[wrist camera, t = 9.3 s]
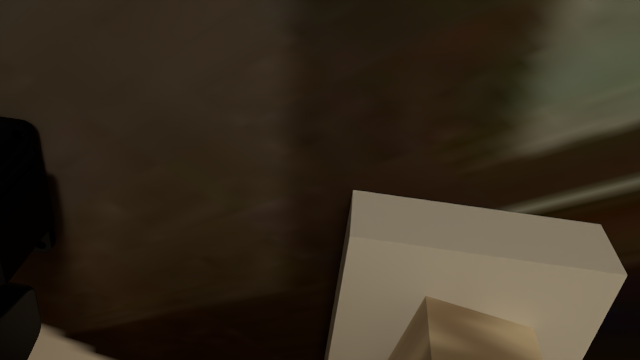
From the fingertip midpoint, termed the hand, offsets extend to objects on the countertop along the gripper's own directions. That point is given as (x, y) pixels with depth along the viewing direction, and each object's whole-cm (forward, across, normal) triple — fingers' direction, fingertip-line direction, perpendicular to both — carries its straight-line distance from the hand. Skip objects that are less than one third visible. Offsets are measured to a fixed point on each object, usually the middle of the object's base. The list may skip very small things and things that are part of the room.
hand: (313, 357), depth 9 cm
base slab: (+13, -6, +11) cm, 18 cm away
